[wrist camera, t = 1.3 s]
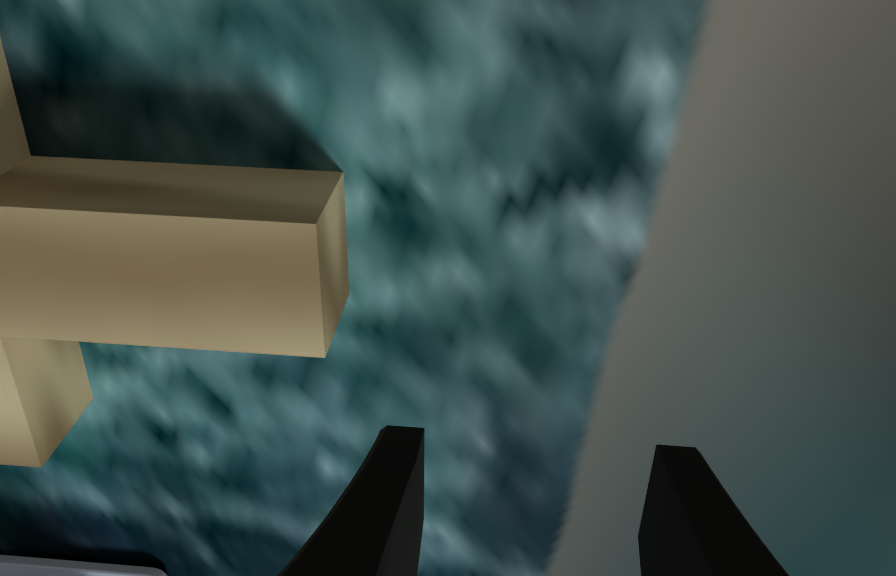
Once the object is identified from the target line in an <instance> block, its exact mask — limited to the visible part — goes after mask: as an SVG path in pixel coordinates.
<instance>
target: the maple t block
mask: <svg viewBox="0 0 896 576" xmlns="http://www.w3.org/2000/svg"><path fill="white" fill-rule="evenodd" d="M348 296H349V280H348V259H347V239H346V218H345V197H344V177H343V172H333V171H314V170H294V169H275V168H256V167H237V166H217V165H198V164H179V163H160V162H140V161H121V160H102V159H83V158H63V157H44V156H31V155H30V151H29V147H28V143H27V139H26V135H25V131H24V127H23V124H22V120H21V116H20V112H19V108H18V104H17V100H16V96H15V92H14V89H13V85H12V81H11V77H10V73H9V69H8V65H7V61H6V57H5V54H4V50H3V46H2V42H1V38H0V464H4V465H17V466H30V467H42V466H43V465H44V463H45V462H46V461H47V459H48V458H49V457H50V455H51V454H52V453H53V451H54V450H55V449H56V447H57V446H58V445H59V444H60V442H61V441H62V440H63V438H64V437H65V436H66V434H67V433H68V432H69V430H70V429H71V428H72V426H73V425H74V424H75V422H76V421H77V420H78V418H79V417H80V416H81V414H82V413H83V412H84V410H85V409H86V408H87V406H88V405H89V404H90V402H91V401H92V400H93V396H92V392H91V388H90V384H89V380H88V376H87V372H86V369H85V365H84V361H83V357H82V353H81V349H80V345H79V341H81V342H96V343H111V344H126V345H141V346H156V347H171V348H186V349H201V350H216V351H231V352H246V353H261V354H276V355H291V356H306V357H321V358H325V357H326V354H327V352H328V349H329V346H330V344H331V341H332V338H333V336H334V333H335V330H336V328H337V325H338V322H339V320H340V317H341V314H342V312H343V309H344V306H345V304H346V301H347V298H348Z"/></svg>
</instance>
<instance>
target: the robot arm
mask: <svg viewBox="0 0 896 576" xmlns="http://www.w3.org/2000/svg"><path fill="white" fill-rule="evenodd" d="M423 520H424V428H417V427H403V426H389V425H387V426H386V427H384V428H383V429H382V430H380V432H379V434H378V436H377V438H376V440H375V442H374V444H373V446H372V448H371V450H370V451H369V453H368V455H367V457H366V458H365V460H364V462H363V463H362V465H361V466H360V468H359V470H358V471H357V473H356V474H355V476H354V477H353V479H352V481H351V482H350V484H349V485H348V487H347V488H346V489H345V491H344V492H343V494H342V495H341V496H340V498H339V499H338V501H337V502H336V504H335V505H334V506H333V508H332V509H331V511H330V512H329V513H328V515H327V516H326V518H325V519H324V520H323V522H322V523H321V524H320V525H319V527H318V528H317V529H316V530H315V532H314V533H313V534H312V535H311V537H310V538H309V539H308V540H307V542H306V543H305V544H304V545H303V547H302V548H301V549H300V550H299V552H298V553H297V554H296V555H295V557H294V558H293V559H292V560H291V561H290V562H289V564H288V565H287V566H286V567H285V568H284V569H283V570H282V572H281V573H280V574H279V575H278V576H417V571H418V563H419V555H420V546H421V538H422V529H423ZM638 542H639V554H640V566H641V576H789V575H788V574H787V573H786V571H785V570H784V569H783V567H782V566H781V565H780V564H779V562H778V561H777V560H776V559H775V557H774V556H773V555H772V553H771V552H770V551H769V549H768V548H767V547H766V545H765V544H764V543H763V542H762V540H761V539H760V538H759V536H758V535H757V534H756V532H755V531H754V530H753V529H752V527H751V526H750V524H749V523H748V522H747V520H746V519H745V517H744V516H743V515H742V513H741V512H740V510H739V509H738V508H737V506H736V505H735V504H734V502H733V501H732V499H731V498H730V496H729V495H728V493H727V492H726V490H725V489H724V488H723V486H722V485H721V483H720V482H719V480H718V479H717V477H716V476H715V474H714V473H713V471H712V470H711V468H710V467H709V465H708V464H707V462H706V461H705V459H704V458H703V456H702V455H701V453H700V452H699V451H698V450H697V449H696V448H695V447H682V446H668V445H656V449H655V454H654V459H653V464H652V469H651V474H650V479H649V484H648V489H647V494H646V499H645V504H644V509H643V514H642V519H641V524H640V529H639V534H638ZM0 576H167V575H166V574H165V573H164V572H163V571H162V570H160V569H158V568H153V567H142V566H130V565H118V564H106V563H94V562H82V561H70V560H59V559H47V558H35V557H23V556H11V555H0Z"/></svg>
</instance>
